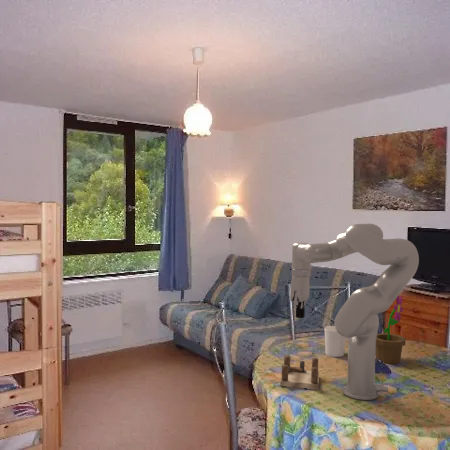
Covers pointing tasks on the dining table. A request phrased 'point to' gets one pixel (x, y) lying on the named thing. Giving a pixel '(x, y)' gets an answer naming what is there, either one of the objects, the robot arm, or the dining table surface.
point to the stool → (301, 377)
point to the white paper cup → (334, 342)
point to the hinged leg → (295, 369)
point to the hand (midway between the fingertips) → (300, 317)
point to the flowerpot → (390, 339)
